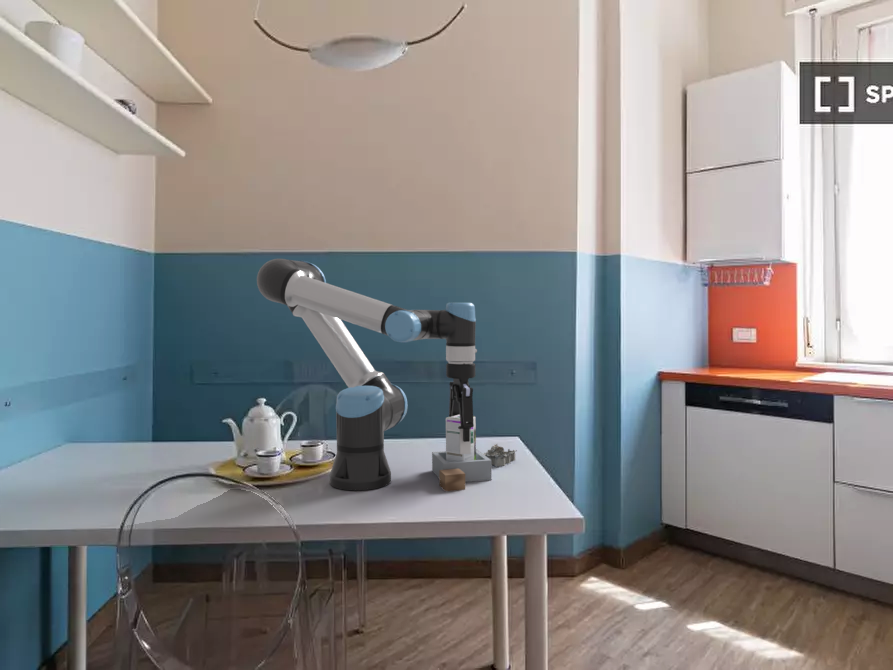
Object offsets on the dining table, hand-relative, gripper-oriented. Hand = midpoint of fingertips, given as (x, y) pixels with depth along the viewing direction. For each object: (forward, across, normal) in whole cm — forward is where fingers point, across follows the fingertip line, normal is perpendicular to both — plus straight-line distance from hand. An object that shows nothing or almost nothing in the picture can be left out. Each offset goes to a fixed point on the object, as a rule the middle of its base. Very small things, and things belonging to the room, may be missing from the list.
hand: (460, 449), depth 165 cm
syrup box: (+6, 0, 0) cm, 6 cm away
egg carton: (+7, +11, -14) cm, 19 cm away
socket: (+7, 0, 0) cm, 7 cm away
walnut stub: (+7, -10, +5) cm, 13 cm away
